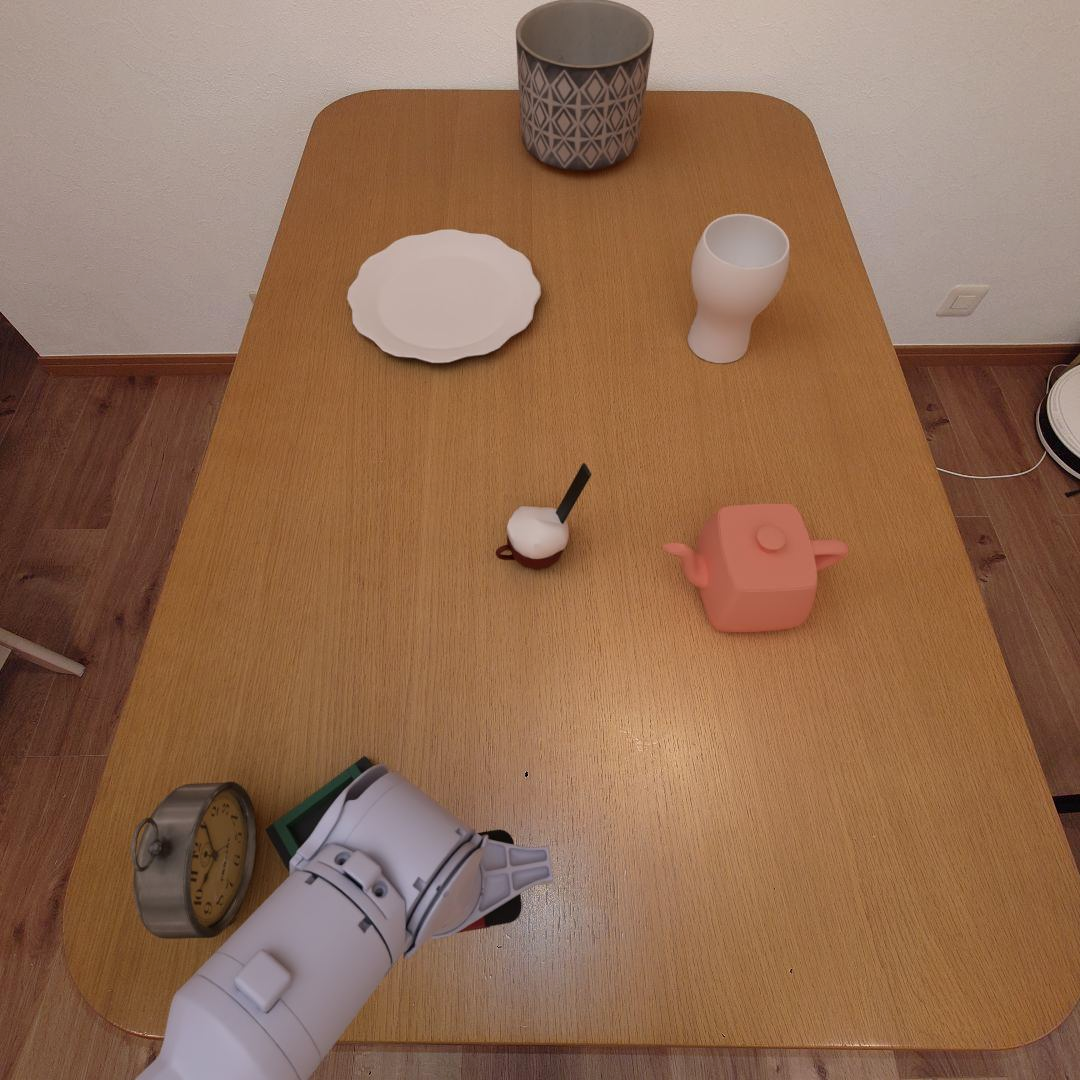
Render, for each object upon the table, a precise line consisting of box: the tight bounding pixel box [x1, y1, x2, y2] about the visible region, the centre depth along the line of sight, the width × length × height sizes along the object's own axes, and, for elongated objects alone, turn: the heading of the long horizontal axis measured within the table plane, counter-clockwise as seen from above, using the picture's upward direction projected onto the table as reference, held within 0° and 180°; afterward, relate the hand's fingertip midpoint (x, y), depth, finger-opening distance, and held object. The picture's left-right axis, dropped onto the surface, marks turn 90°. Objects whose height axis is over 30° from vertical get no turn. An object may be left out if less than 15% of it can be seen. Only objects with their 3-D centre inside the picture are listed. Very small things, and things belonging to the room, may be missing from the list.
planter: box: [515, 0, 655, 172], centre depth 107 cm, size 19×19×16 cm
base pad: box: [264, 755, 374, 874], centre depth 61 cm, size 10×9×3 cm
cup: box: [687, 213, 791, 364], centre depth 85 cm, size 11×11×15 cm
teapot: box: [662, 502, 850, 633], centre depth 69 cm, size 11×18×10 cm, turn 93°
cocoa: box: [495, 462, 592, 571], centre depth 71 cm, size 10×6×12 cm, turn 92°
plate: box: [346, 229, 542, 365], centre depth 95 cm, size 25×25×2 cm
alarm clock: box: [130, 781, 257, 940], centre depth 54 cm, size 11×5×16 cm, turn 1°
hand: (451, 894), depth 52 cm, fingers closed on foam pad, 5 cm apart
